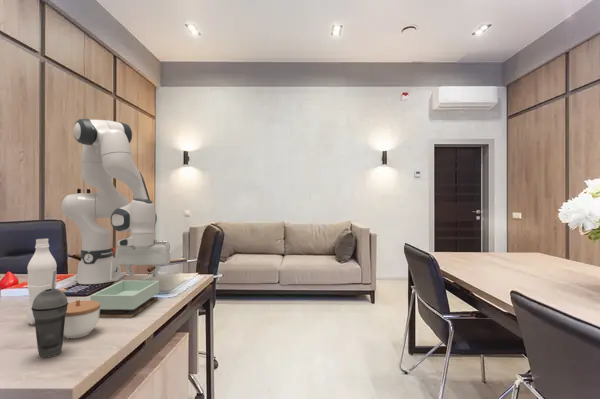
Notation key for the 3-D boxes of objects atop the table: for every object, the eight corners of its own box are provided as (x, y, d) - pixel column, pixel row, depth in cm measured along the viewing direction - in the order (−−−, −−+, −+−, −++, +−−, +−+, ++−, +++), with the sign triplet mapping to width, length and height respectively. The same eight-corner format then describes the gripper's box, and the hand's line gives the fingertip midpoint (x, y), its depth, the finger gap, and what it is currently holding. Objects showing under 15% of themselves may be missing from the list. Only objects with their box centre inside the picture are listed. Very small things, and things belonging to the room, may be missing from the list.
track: (103, 298, 130) (103, 295, 130) (157, 299, 130) (157, 296, 130) (67, 317, 110) (67, 314, 110) (131, 318, 110) (131, 314, 110)
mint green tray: (122, 295, 130) (122, 280, 130) (159, 295, 130) (159, 280, 130) (90, 313, 110) (90, 295, 110) (133, 313, 110) (133, 295, 110)
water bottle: (59, 322, 106) (59, 239, 106) (29, 328, 101) (29, 241, 101) (54, 316, 111) (53, 237, 111) (25, 322, 106) (25, 239, 106)
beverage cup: (48, 346, 89) (48, 267, 89) (75, 347, 88) (75, 268, 88) (23, 359, 82) (23, 273, 82) (52, 361, 81) (52, 274, 81)
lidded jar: (60, 345, 90) (60, 309, 90) (49, 334, 97) (49, 300, 97) (106, 334, 97) (106, 300, 97) (93, 324, 105) (93, 292, 105)
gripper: (172, 239, 139) (173, 274, 139) (121, 239, 140) (121, 274, 140) (166, 241, 133) (166, 278, 133) (112, 241, 134) (112, 278, 133)
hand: (143, 276), depth 136 cm, fingers open, 8 cm apart
